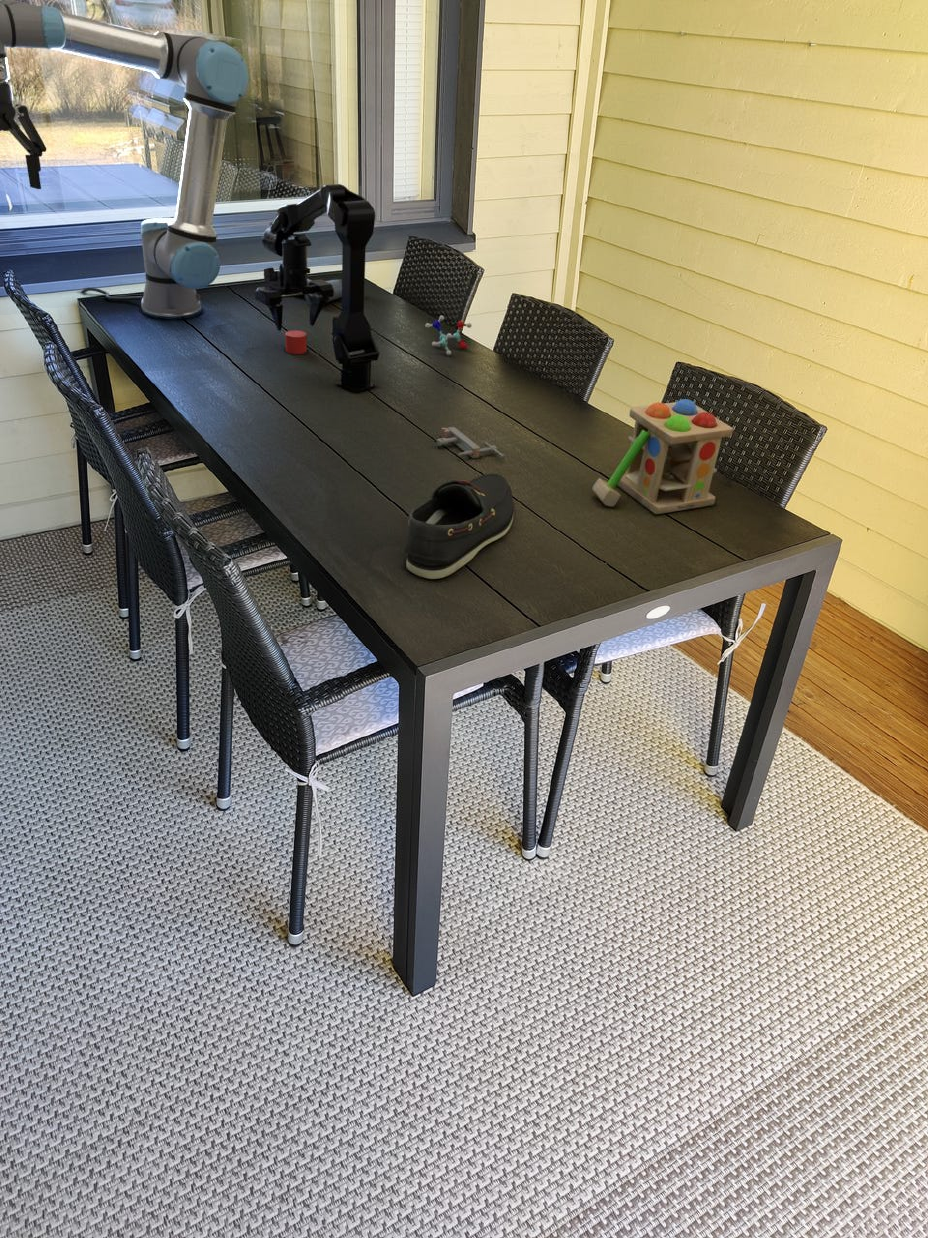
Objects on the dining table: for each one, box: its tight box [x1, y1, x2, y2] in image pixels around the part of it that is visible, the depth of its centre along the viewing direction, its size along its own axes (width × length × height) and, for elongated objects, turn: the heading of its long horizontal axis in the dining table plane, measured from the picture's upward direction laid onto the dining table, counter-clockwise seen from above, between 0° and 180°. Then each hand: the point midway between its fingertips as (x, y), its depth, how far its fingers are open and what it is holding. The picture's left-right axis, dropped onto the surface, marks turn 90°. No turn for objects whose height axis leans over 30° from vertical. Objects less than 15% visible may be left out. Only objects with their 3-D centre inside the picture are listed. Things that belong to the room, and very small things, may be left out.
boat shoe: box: [403, 472, 515, 580], centre depth 170 cm, size 13×33×10 cm, turn 147°
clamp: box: [436, 426, 507, 460], centre depth 201 cm, size 15×2×10 cm
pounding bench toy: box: [591, 398, 734, 515], centre depth 186 cm, size 23×14×18 cm, turn 116°
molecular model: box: [424, 315, 472, 356], centre depth 250 cm, size 12×10×10 cm
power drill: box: [274, 278, 342, 305], centre depth 280 cm, size 5×19×20 cm
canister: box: [284, 329, 307, 355], centre depth 241 cm, size 5×5×4 cm
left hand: (9, 191), depth 211 cm, fingers open, 13 cm apart
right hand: (295, 327), depth 239 cm, fingers open, 9 cm apart
